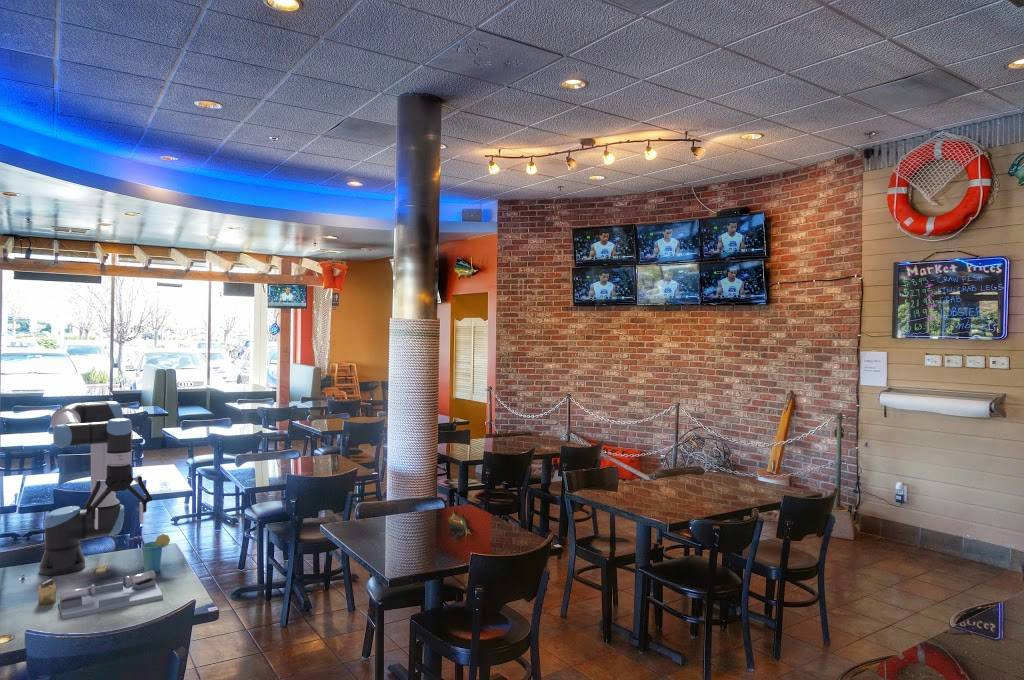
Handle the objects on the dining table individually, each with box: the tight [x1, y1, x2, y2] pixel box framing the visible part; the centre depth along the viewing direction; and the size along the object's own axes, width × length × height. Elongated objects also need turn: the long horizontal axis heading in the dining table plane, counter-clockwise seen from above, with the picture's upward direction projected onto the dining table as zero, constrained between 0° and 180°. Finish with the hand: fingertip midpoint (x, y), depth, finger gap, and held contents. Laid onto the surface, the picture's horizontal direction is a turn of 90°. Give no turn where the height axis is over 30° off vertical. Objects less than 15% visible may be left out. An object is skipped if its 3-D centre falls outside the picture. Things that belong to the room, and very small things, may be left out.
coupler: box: [38, 578, 57, 606], centre depth 241 cm, size 5×5×7 cm
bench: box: [57, 581, 164, 620], centre depth 243 cm, size 15×30×4 cm, turn 127°
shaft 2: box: [122, 570, 157, 591], centre depth 252 cm, size 5×10×6 cm, turn 147°
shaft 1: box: [59, 583, 96, 602], centre depth 237 cm, size 4×10×4 cm, turn 127°
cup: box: [129, 533, 171, 573], centre depth 271 cm, size 14×8×15 cm, turn 129°
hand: (119, 525), depth 241 cm, fingers open, 13 cm apart
